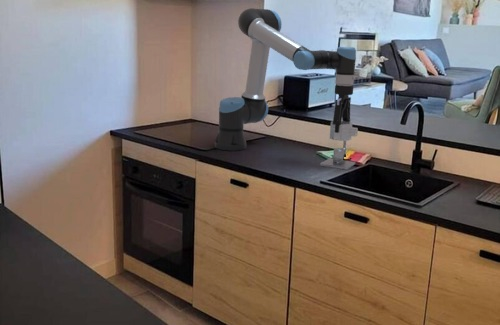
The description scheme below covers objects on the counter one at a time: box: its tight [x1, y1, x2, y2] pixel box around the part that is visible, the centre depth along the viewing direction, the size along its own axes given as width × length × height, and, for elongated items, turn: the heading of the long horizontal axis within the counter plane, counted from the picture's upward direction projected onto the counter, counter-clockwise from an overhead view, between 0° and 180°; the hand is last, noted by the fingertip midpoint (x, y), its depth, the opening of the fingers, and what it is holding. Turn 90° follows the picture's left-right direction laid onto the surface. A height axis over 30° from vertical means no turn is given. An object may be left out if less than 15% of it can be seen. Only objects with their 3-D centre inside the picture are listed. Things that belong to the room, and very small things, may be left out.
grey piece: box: [329, 120, 359, 142], centre depth 221 cm, size 11×8×7 cm
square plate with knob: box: [319, 147, 356, 170], centre depth 225 cm, size 12×12×7 cm
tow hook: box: [341, 141, 347, 157], centre depth 238 cm, size 8×13×9 cm
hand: (340, 138), depth 223 cm, fingers closed on grey piece, 8 cm apart
